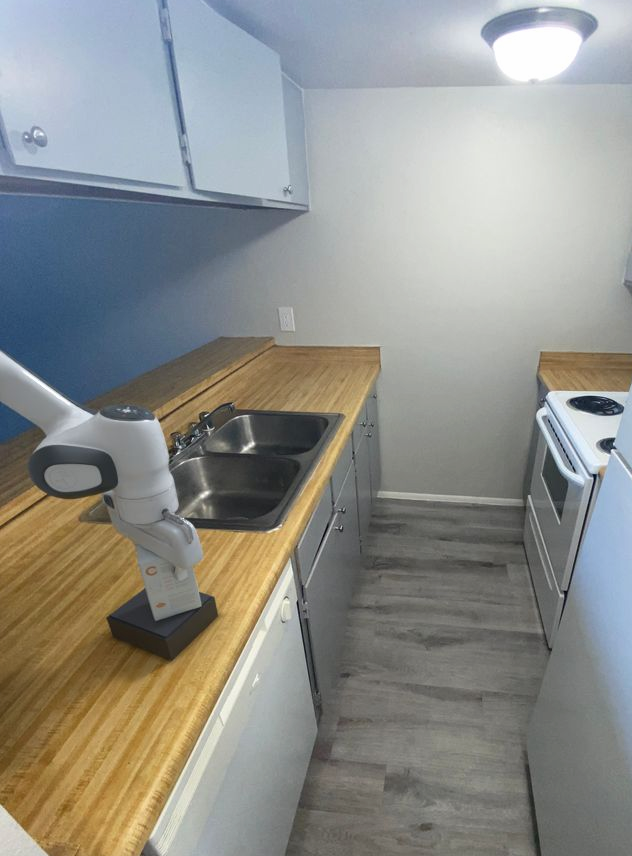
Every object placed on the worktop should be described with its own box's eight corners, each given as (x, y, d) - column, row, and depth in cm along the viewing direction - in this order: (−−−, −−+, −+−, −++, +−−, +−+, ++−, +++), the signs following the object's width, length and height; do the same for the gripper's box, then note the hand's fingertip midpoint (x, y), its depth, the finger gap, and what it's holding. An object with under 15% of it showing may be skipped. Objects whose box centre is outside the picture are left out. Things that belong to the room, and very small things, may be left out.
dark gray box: (112, 637, 88) (105, 615, 85) (163, 596, 98) (158, 576, 95) (171, 661, 83) (165, 639, 81) (218, 616, 93) (214, 595, 91)
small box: (196, 587, 93) (184, 532, 87) (202, 607, 88) (190, 550, 82) (150, 600, 89) (135, 544, 83) (154, 622, 84) (137, 564, 78)
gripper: (205, 512, 76) (217, 580, 82) (130, 477, 85) (146, 541, 91) (170, 530, 71) (186, 600, 77) (94, 491, 80) (113, 557, 86)
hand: (163, 568), depth 84 cm, fingers open, 8 cm apart
